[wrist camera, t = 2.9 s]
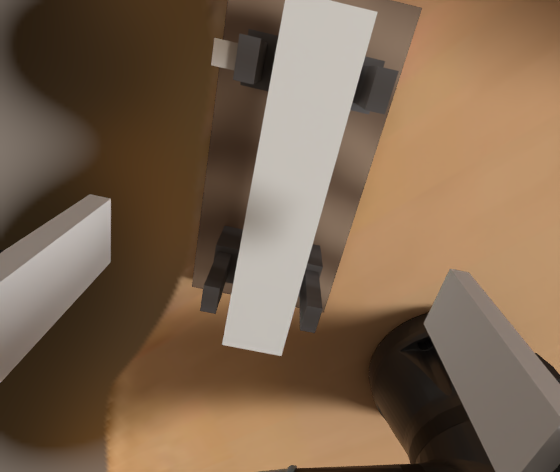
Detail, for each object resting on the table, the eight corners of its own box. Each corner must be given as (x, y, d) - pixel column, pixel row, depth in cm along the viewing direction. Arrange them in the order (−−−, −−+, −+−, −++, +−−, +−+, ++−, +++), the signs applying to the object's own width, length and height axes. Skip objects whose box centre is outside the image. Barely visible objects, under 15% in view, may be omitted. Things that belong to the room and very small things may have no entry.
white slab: (283, 310, 29) (281, 356, 24) (233, 300, 29) (221, 344, 24) (359, 23, 20) (377, 11, 16) (289, 6, 20) (287, -11, 15)
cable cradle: (322, 302, 34) (331, 382, 26) (196, 277, 34) (161, 350, 25) (415, 11, 24) (480, -19, 16) (236, -33, 23) (202, -89, 15)
